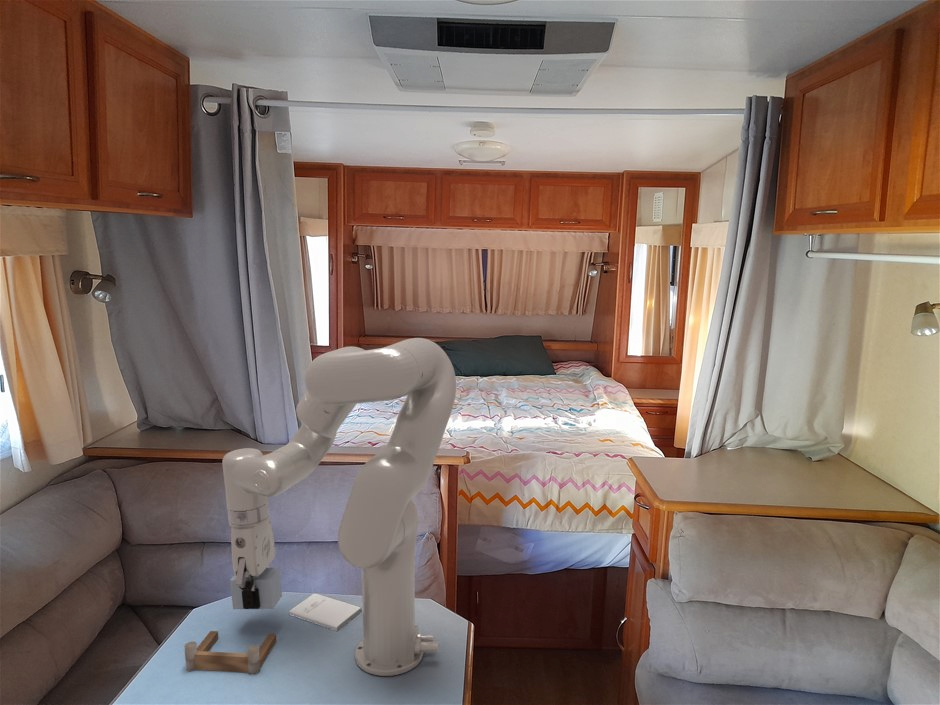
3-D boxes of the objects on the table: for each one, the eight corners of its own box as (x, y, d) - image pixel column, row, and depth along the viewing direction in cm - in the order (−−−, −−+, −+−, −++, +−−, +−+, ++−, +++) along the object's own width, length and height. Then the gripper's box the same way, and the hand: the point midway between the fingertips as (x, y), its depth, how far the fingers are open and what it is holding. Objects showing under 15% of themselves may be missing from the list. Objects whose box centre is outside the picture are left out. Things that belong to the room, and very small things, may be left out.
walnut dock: (277, 641, 127) (276, 619, 126) (257, 674, 117) (256, 651, 117) (209, 637, 128) (208, 616, 127) (183, 670, 118) (182, 647, 118)
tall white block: (282, 595, 133) (279, 567, 132) (272, 608, 128) (270, 579, 127) (243, 595, 134) (240, 568, 133) (233, 609, 129) (229, 580, 128)
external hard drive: (336, 634, 131) (289, 617, 136) (362, 613, 138) (315, 598, 143) (336, 626, 130) (288, 610, 136) (362, 606, 138) (315, 591, 143)
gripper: (249, 531, 119) (259, 624, 122) (283, 496, 136) (290, 579, 139) (209, 531, 120) (220, 624, 123) (247, 497, 137) (256, 579, 139)
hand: (257, 599), depth 131 cm, fingers closed on tall white block, 5 cm apart
